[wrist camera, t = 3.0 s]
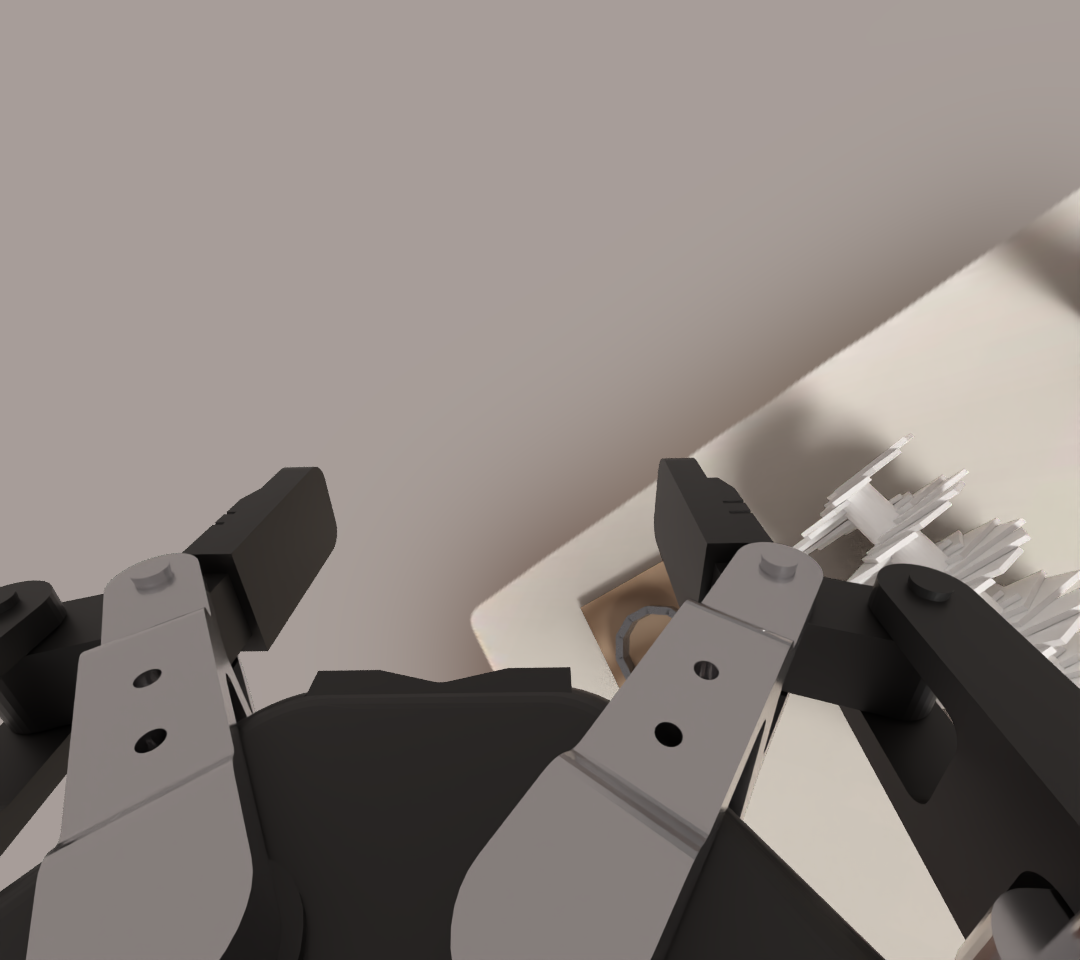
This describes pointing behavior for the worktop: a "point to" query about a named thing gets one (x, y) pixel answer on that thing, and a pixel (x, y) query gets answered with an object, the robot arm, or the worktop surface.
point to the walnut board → (620, 603)
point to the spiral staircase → (954, 556)
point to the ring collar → (626, 630)
